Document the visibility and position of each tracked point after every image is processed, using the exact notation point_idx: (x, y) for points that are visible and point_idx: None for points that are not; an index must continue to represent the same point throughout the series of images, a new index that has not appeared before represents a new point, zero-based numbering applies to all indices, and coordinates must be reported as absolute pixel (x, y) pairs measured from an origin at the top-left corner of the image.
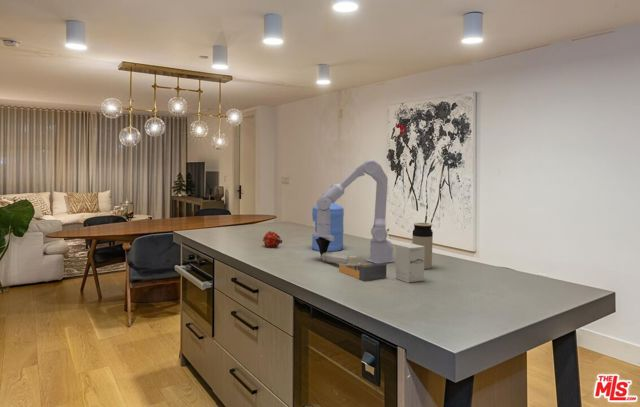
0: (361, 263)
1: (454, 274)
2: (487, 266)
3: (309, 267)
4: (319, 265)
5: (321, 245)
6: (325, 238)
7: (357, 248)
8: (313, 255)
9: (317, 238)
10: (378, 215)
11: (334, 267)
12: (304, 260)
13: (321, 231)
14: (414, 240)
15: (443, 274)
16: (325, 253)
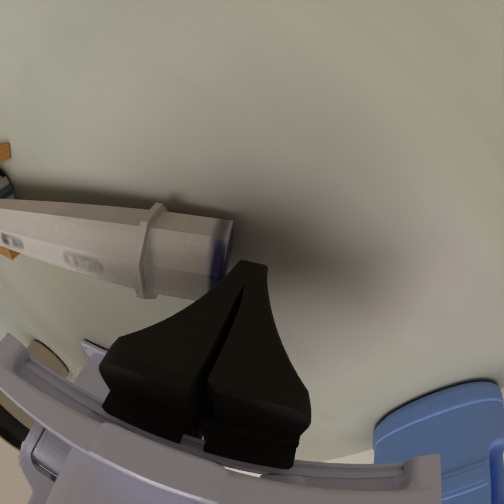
0: (1, 253)
1: (10, 332)
2: None
3: (116, 17)
4: (126, 112)
5: (171, 317)
6: (111, 415)
7: (345, 452)
8: (439, 314)
9: (476, 438)
10: (29, 500)
11: (57, 169)
12: (379, 130)
13: (55, 502)
14: (5, 395)
15: (7, 323)
16: (140, 249)
